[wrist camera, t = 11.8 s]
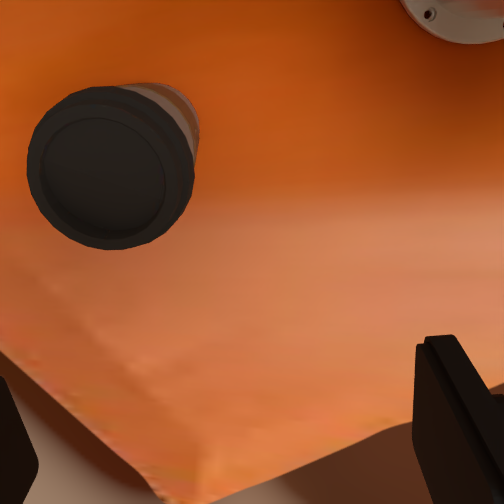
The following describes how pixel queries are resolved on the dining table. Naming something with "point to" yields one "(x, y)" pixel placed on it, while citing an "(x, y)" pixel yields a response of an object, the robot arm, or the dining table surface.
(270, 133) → the dining table surface
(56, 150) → the coffee cup
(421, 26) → the robot arm
